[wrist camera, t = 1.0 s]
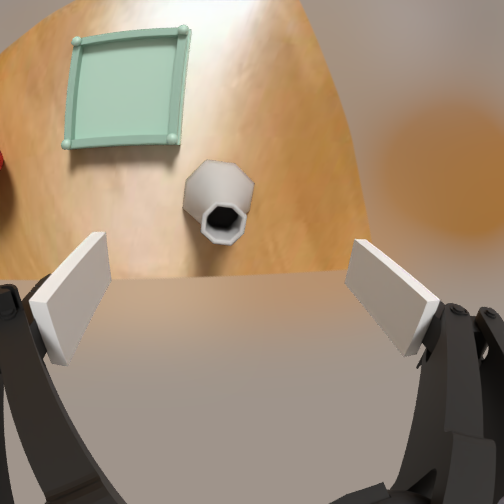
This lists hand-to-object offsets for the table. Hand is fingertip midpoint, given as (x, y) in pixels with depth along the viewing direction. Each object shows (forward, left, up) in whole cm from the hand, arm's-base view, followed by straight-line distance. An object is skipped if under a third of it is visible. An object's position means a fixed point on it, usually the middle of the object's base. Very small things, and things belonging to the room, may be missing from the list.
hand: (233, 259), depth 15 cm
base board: (-10, +11, -16) cm, 22 cm away
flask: (0, 0, -16) cm, 16 cm away
